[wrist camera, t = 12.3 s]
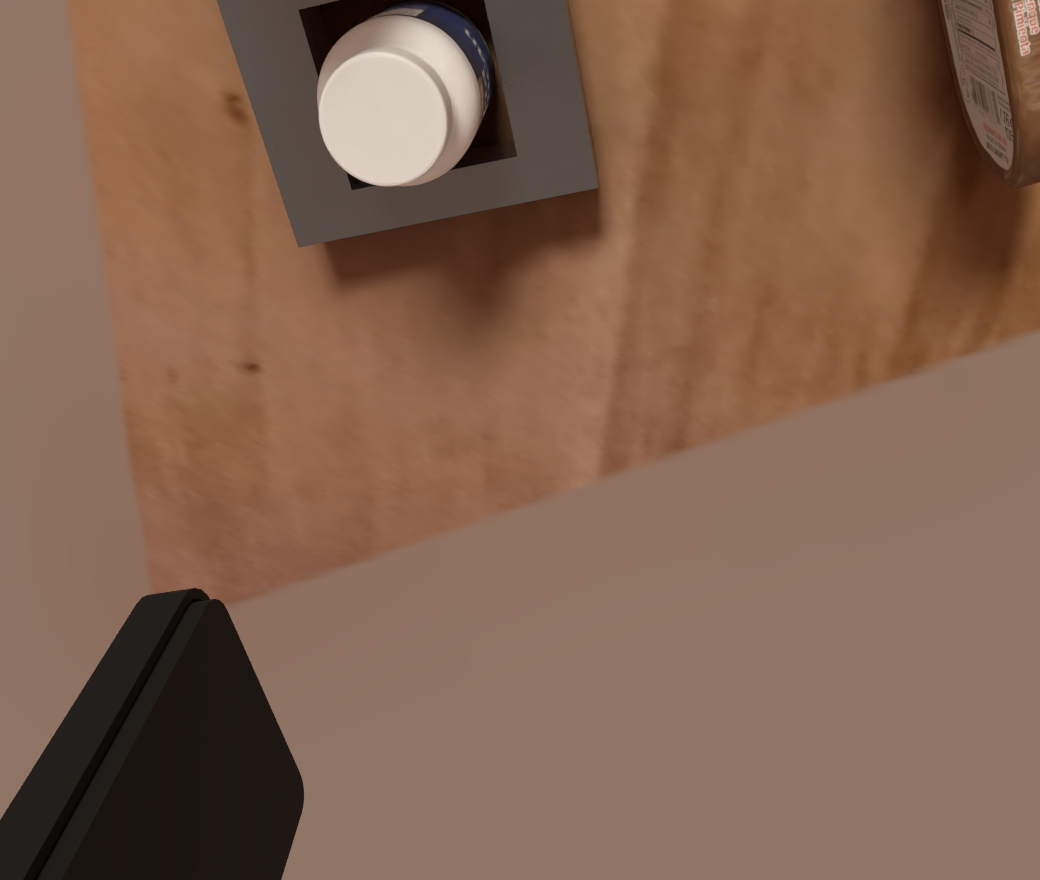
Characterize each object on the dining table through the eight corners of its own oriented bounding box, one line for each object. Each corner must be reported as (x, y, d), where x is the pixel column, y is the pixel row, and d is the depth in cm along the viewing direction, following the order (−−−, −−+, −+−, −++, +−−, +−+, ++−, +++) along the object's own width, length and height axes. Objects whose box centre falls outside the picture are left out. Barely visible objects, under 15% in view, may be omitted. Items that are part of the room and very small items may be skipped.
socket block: (548, -110, 35) (546, -110, 32) (597, 168, 40) (598, 187, 37) (234, -32, 37) (208, -27, 34) (316, 224, 41) (298, 247, 39)
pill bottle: (513, 121, 39) (494, 184, 30) (387, 159, 40) (334, 231, 31) (470, -23, 37) (436, 2, 28) (337, 22, 38) (265, 60, 29)
